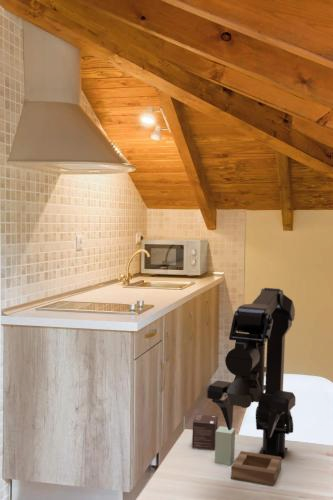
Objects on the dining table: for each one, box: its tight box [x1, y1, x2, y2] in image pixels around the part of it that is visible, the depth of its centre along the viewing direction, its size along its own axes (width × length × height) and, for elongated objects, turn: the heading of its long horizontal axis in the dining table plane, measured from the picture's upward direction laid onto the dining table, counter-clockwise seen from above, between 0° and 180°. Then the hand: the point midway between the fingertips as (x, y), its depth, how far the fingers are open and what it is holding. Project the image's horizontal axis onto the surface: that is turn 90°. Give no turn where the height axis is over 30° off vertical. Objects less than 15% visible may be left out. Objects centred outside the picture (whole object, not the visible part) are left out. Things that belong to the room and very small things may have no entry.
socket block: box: [230, 450, 282, 487], centre depth 148 cm, size 10×10×3 cm
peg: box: [214, 425, 236, 466], centre depth 156 cm, size 4×4×8 cm
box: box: [191, 413, 219, 451], centre depth 166 cm, size 6×6×7 cm
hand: (249, 433), depth 137 cm, fingers open, 9 cm apart
